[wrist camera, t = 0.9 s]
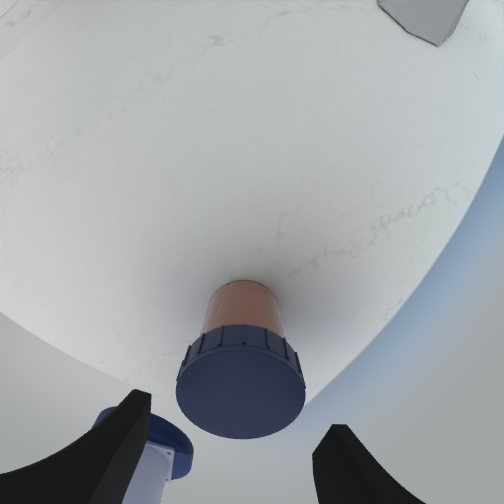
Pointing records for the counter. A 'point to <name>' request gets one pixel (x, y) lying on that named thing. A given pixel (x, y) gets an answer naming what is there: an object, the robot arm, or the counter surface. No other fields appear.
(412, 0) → the flask
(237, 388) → the lid
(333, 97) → the counter surface
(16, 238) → the counter surface
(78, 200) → the counter surface
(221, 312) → the jar
